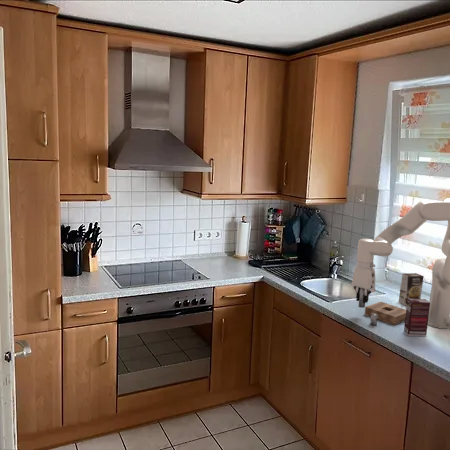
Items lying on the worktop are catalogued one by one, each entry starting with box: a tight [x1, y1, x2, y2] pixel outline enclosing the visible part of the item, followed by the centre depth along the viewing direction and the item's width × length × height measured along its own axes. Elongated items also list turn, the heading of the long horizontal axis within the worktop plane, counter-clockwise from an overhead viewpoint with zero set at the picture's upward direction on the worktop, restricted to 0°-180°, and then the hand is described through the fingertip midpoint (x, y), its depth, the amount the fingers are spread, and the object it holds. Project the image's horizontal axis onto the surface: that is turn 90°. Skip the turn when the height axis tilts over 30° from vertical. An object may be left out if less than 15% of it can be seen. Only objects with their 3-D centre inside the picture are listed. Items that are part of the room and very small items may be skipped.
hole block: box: [364, 301, 406, 326], centre depth 229 cm, size 16×14×4 cm
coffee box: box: [398, 272, 425, 307], centre depth 250 cm, size 9×6×16 cm
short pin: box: [369, 313, 379, 327], centre depth 218 cm, size 3×3×5 cm
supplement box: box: [403, 298, 430, 337], centre depth 208 cm, size 9×5×16 cm, turn 92°
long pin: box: [357, 288, 366, 309], centre depth 226 cm, size 3×3×10 cm
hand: (362, 301), depth 226 cm, fingers closed on long pin, 3 cm apart
